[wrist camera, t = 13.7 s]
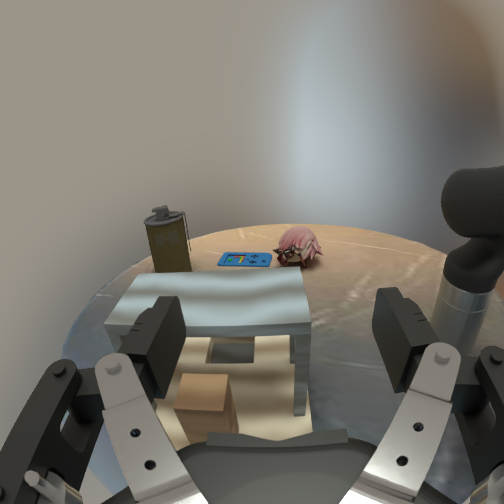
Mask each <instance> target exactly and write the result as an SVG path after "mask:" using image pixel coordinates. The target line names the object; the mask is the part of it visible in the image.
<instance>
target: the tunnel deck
mask: <svg viewBox="0 0 504 504" xmlns="http://www.w3.org/2000/svg"><path fill="white" fill-rule="evenodd" d="M159 296H177V297H178V298H179V301H180V305H181V309H182V313H183V317H184V321H185V325H186V340H185V343H184V346H183V349H182V351H181V354H180V357H179V360H178V363H177V365H176V368H175V371H174V374H173V377H172V380H171V382H170V385H169V388H168V391H167V394H166V397H165V399H157V398H154V400H153V403H152V406H153V408H154V410H155V412H156V414H157V416H158V418H159V420H160V422H161V423H162V425H163V427H164V429H165V431H166V433H167V435H168V436H169V438H170V440H171V442H172V444H173V445H174V447H175V449H176V450H177V451H178V450H180V449H181V448H184V447H186V446H188V445H190V443H189V441H188V439H187V437H186V435H185V433H184V430H183V428H182V426H181V424H180V422H179V420H178V418H177V416H176V414H175V411H174V409H173V407H174V403H175V400H176V396H177V393H178V389H179V385H180V382H181V378H182V375H183V373H188V374H228V377H229V382H230V387H231V392H232V396H233V401H234V406H235V411H236V415H237V420H238V425H239V433H242V434H246V435H250V436H255V437H259V438H264V439H269V440H274V441H280V440H284V439H288V438H292V437H296V436H300V435H304V434H307V433H311V432H312V423H311V414H310V405H309V397H308V389H307V388H308V375H309V360H310V342H311V317H310V312H309V307H308V303H307V298H306V293H305V289H304V284H303V279H302V275H301V270H300V266H298V267H280V268H261V269H241V270H220V271H198V272H174V273H147V274H139V275H138V276H137V277H136V279H135V280H134V282H133V283H132V284H131V286H130V287H129V288H128V290H127V291H126V293H125V294H124V295H123V297H122V298H121V300H120V301H119V302H118V304H117V305H116V307H115V308H114V310H113V311H112V313H111V314H110V315H109V317H108V318H107V320H106V321H105V323H104V326H105V328H106V331H107V333H108V335H109V338H110V340H111V343H112V345H113V347H114V349H115V352H116V353H117V351H118V350H119V348H120V346H121V344H122V343H123V341H124V339H125V338H126V336H127V334H128V333H129V331H130V329H131V328H132V326H133V325H134V323H135V321H136V319H137V318H138V316H139V314H141V313H142V312H143V311H144V310H146V309H147V308H152V307H153V305H154V304H155V302H156V300H157V298H158V297H159Z"/></svg>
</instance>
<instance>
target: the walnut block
mask: <svg viewBox="0 0 504 504" xmlns="http://www.w3.org/2000/svg"><path fill="white" fill-rule="evenodd" d="M173 409H174V411H175V414H176V416H177V418H178V420H179V422H180V424H181V426H182V428H183V430H184V433H185V435H186V437H187V439H188V441H189V443H190V445H191V444H194V443H198V442H202V441H207V437H208V432H219V433H239V425H238V420H237V415H236V411H235V406H234V401H233V396H232V392H231V387H230V382H229V377H228V374H188V373H183V375H182V378H181V382H180V385H179V389H178V393H177V396H176V400H175V403H174V407H173Z"/></svg>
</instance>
